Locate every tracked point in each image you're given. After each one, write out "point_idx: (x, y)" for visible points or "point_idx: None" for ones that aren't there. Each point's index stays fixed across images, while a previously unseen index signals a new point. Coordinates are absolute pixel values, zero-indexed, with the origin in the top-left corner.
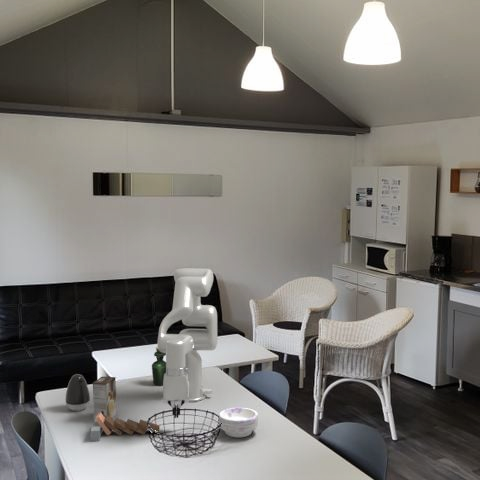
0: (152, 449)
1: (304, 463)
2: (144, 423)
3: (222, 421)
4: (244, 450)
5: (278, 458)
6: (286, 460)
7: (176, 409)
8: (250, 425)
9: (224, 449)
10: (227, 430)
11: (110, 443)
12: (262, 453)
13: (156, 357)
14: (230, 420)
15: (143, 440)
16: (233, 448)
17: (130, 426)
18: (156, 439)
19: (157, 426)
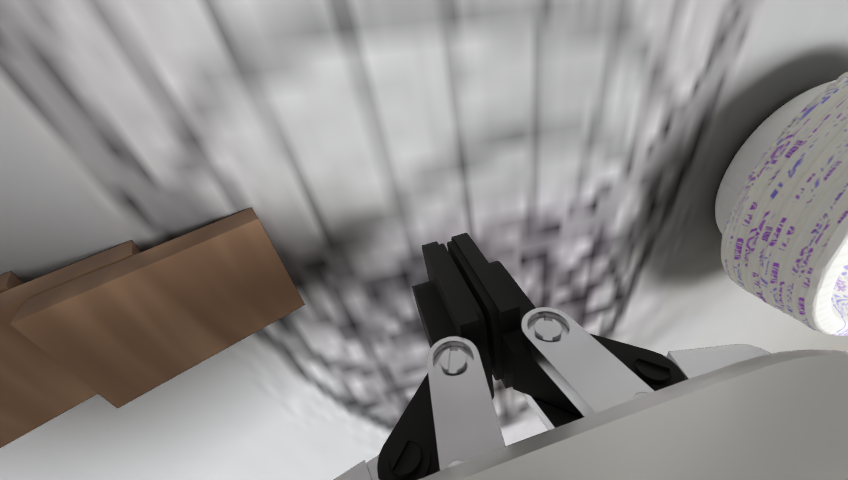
0: (348, 429)
1: (829, 346)
2: (134, 347)
3: (782, 300)
4: (716, 326)
5: (786, 342)
6: (798, 345)
7: (492, 371)
8: None
9: (651, 340)
10: (743, 288)
11: (49, 463)
12: (761, 328)
13: None
14: (832, 334)
15: (245, 379)
16: (686, 324)
17: (37, 418)
18: (322, 349)
19: (258, 262)
